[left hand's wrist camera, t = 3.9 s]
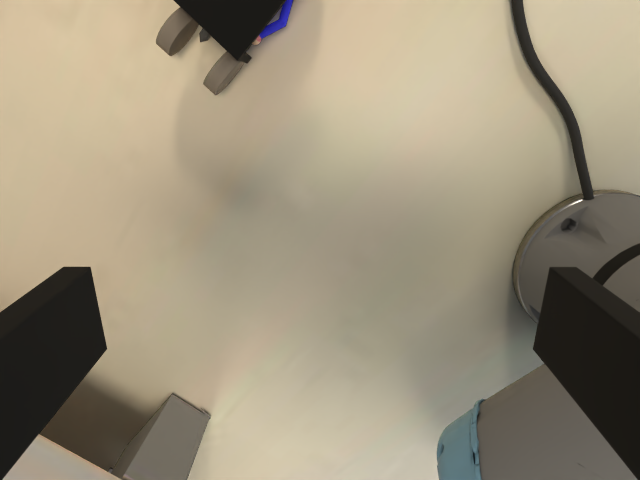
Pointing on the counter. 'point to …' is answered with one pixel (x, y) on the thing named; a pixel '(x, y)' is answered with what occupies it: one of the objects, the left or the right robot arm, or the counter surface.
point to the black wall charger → (223, 31)
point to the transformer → (125, 451)
